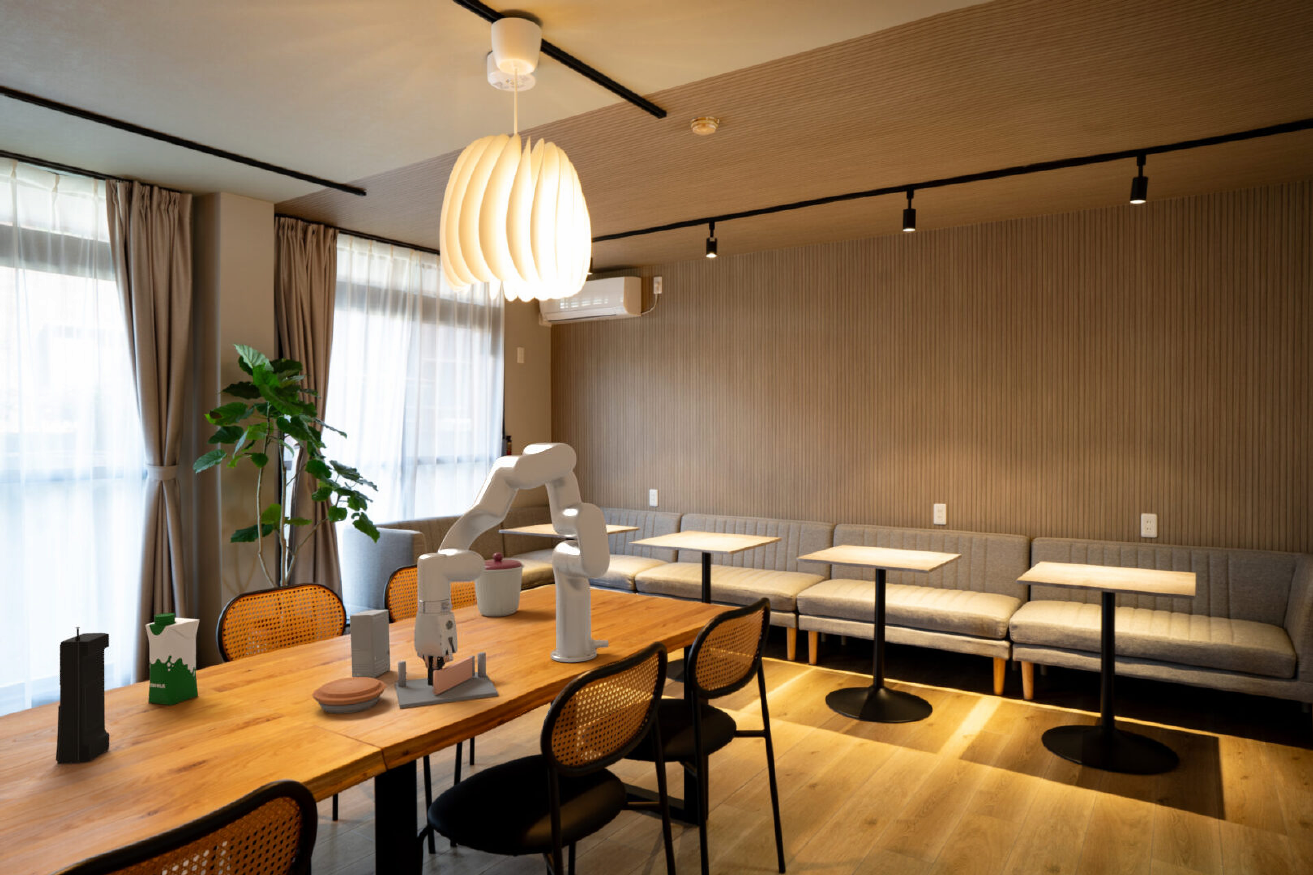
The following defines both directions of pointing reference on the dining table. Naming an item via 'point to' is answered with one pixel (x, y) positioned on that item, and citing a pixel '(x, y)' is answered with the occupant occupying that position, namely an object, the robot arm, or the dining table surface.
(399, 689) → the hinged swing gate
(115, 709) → the dining table surface
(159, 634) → the milk carton
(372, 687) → the pie
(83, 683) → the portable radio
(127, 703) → the dining table surface
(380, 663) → the skincare box
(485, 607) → the canister
